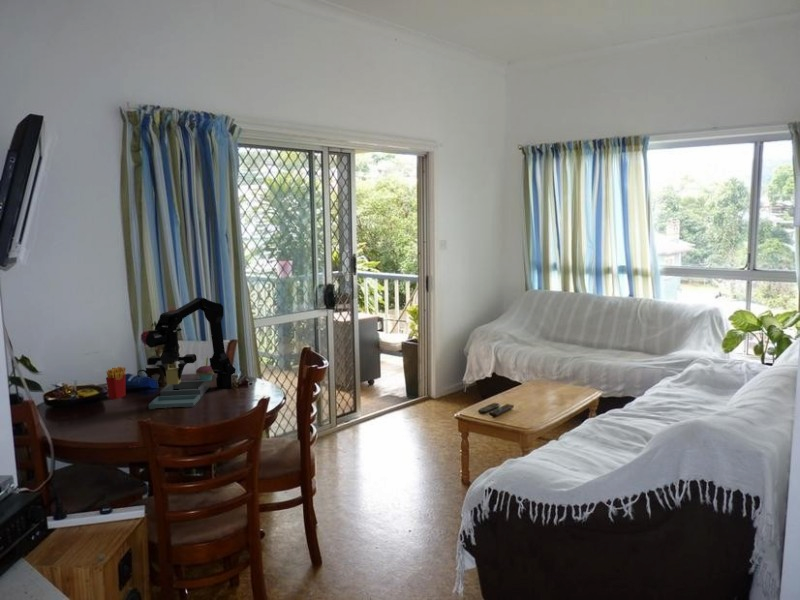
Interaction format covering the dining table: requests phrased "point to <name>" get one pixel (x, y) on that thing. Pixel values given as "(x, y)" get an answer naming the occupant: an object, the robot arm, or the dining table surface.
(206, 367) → the cupcake
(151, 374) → the coffee mug
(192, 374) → the dining table surface
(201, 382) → the bin
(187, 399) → the tray
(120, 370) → the french fries
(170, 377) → the block
